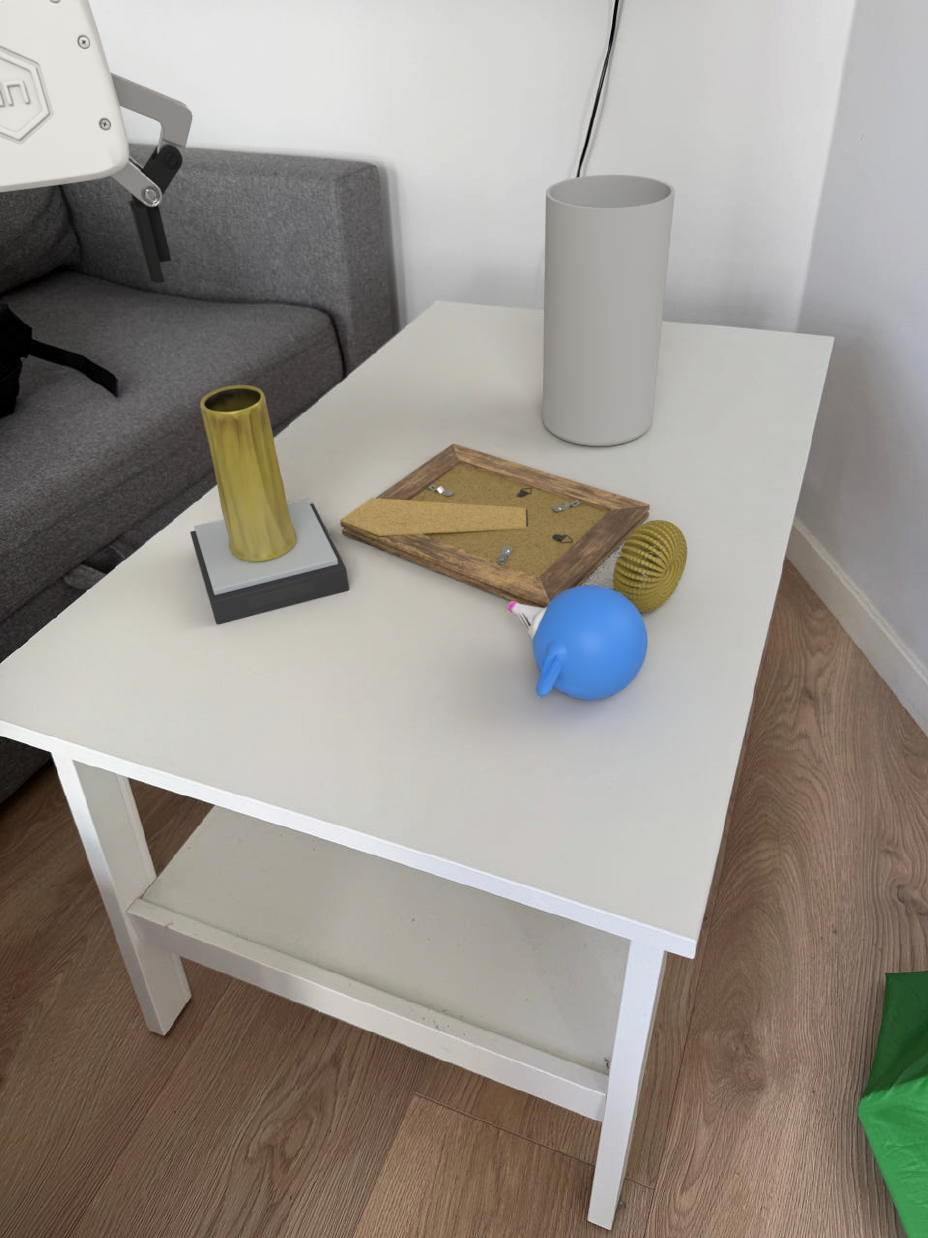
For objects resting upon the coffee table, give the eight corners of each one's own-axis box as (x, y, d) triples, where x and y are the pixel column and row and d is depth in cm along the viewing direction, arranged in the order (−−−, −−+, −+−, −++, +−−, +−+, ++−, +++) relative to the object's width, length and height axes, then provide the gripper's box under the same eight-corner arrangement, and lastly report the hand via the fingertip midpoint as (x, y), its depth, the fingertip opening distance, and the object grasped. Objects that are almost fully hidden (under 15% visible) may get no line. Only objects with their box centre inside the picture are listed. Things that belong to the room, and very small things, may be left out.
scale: (216, 625, 79) (208, 597, 77) (195, 553, 88) (188, 525, 86) (349, 590, 82) (345, 562, 80) (316, 523, 91) (312, 497, 89)
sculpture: (650, 573, 82) (658, 497, 77) (690, 590, 80) (701, 513, 75) (600, 618, 78) (606, 540, 73) (641, 636, 76) (650, 558, 71)
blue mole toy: (551, 608, 79) (553, 527, 74) (673, 663, 73) (684, 578, 68) (463, 684, 72) (458, 600, 67) (590, 752, 66) (595, 665, 61)
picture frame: (342, 535, 89) (549, 618, 78) (339, 520, 88) (550, 601, 77) (453, 455, 101) (648, 517, 90) (453, 441, 100) (650, 502, 88)
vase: (285, 518, 86) (257, 376, 77) (306, 551, 82) (279, 404, 73) (222, 536, 84) (186, 392, 75) (239, 570, 80) (204, 422, 71)
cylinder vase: (562, 392, 112) (568, 171, 96) (663, 407, 108) (687, 178, 92) (527, 439, 103) (527, 203, 87) (635, 457, 99) (657, 213, 83)
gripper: (-293, -82, 36) (-105, 341, 47) (155, -106, 40) (233, 285, 51) (-253, -84, 41) (-93, 294, 52) (138, -105, 46) (211, 248, 57)
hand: (68, 289), depth 52 cm, fingers open, 9 cm apart
